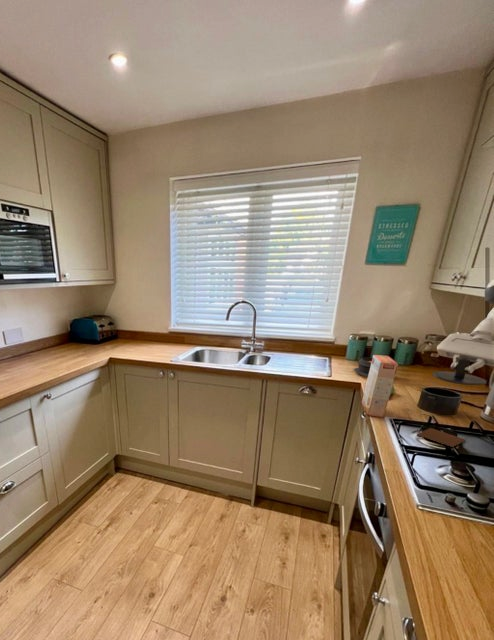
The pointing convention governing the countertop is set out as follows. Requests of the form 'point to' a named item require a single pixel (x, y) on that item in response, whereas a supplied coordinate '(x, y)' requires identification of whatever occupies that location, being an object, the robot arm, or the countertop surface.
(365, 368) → the dark grey rounded piece
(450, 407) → the pot
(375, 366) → the cracker box
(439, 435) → the plate
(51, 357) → the countertop surface
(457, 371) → the lid
